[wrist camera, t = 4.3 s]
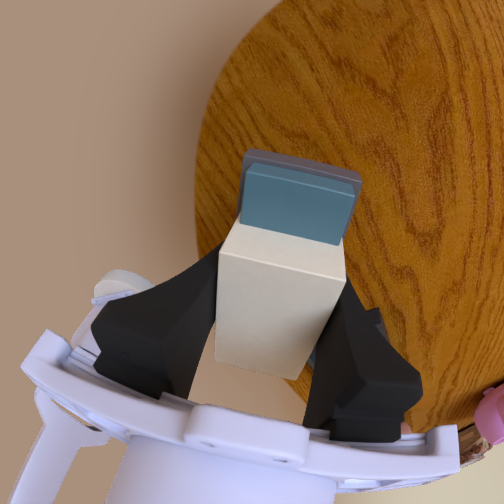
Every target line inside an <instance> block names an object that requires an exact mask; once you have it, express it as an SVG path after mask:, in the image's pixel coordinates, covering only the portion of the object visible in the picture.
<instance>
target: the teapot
mask: <svg viewBox="0 0 504 504" xmlns="http://www.w3.org/2000/svg"><path fill="white" fill-rule="evenodd" d="M483 394H484V395H485V397H484V398H483V399H482V400H481V401H480V403H479V404H478V406H477V408H476V411H475V413H474V421H475V424H476V427H477V429H478V431H479V432H480V434H481V435H482V436H483V437H484V438H485V439H486V440H487V441H488V442H489V443H490V444H492V445H496V444H499V443H502V442H504V383H503V384H502V385H500V386H499V387H497V388H494V387H491V388H489V389H487V390H486V391H484V392H483Z"/></svg>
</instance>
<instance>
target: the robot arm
mask: <svg viewBox="0 0 504 504" xmlns="http://www.w3.org/2000/svg"><path fill="white" fill-rule="evenodd" d="M224 242H225V240H224V241H223V242H221V243H220V244H219V245H218V246H217V247H216V248H214V249H213V250H212V251H211V252H210V253H208V254H207V255H206V256H204V257H203V258H202V259H201V260H199V261H198V262H197V263H195V264H194V265H192V266H191V267H189V268H188V269H186V270H185V271H184V272H182V273H180V274H179V275H177V276H175V277H173V278H171V279H170V280H168V281H166V282H164V283H162V284H159V285H157V286H155V287H152V288H150V289H148V290H145V291H142V292H139V293H136V294H134V293H133V292H132V291H131V290H125V291H121V292H117V293H113V294H108V295H104V296H100V297H96V298H92V299H91V302H92V304H93V305H94V307H93V309H92V310H91V311H90V312H89V314H88V315H87V316H86V318H85V319H84V320H83V322H82V323H81V325H80V326H79V327H78V329H77V330H76V332H75V333H74V335H73V337H72V341H71V345H70V344H69V342H68V341H67V340H66V339H65V338H63V337H62V336H60V335H58V334H57V333H55V332H53V331H51V330H50V329H46V330H45V332H44V333H43V334H42V336H41V337H40V338H39V340H38V341H37V343H36V344H35V345H34V347H33V348H32V350H31V351H30V352H29V354H28V356H27V357H26V358H25V360H24V361H23V363H22V364H21V366H20V367H21V369H22V370H23V371H24V372H25V373H26V375H27V376H28V377H29V378H30V379H31V380H32V381H33V382H34V383H35V384H36V385H37V387H36V389H35V391H34V394H35V395H34V401H35V403H36V406H37V409H38V411H39V413H40V416H41V418H42V420H43V422H44V424H43V426H42V428H41V430H40V432H39V433H38V435H37V437H36V439H35V441H34V443H33V445H32V447H31V449H30V451H29V453H28V455H27V457H26V460H25V462H24V464H23V466H22V468H21V470H20V472H19V475H18V477H17V479H16V481H15V484H14V486H13V489H12V491H11V493H10V496H9V498H8V501H7V503H6V504H53V503H54V500H55V498H56V496H57V494H58V491H59V489H60V487H61V485H62V483H63V480H64V478H65V476H66V474H67V472H68V470H69V468H70V466H71V464H72V462H73V460H74V458H75V456H76V454H77V452H78V450H79V448H80V447H87V446H101V445H106V444H107V442H109V441H110V439H111V437H114V438H116V439H118V440H120V441H122V442H124V443H126V444H128V448H127V450H126V452H125V454H124V457H123V459H122V461H121V464H120V466H119V468H118V471H117V473H116V476H115V478H114V480H113V482H112V485H111V488H110V490H109V492H108V495H107V497H106V500H105V502H104V504H334V497H335V493H355V492H356V493H357V492H371V491H381V490H390V489H398V488H404V487H412V486H418V485H424V484H428V483H431V482H433V481H436V480H439V479H442V478H445V477H447V476H450V475H452V474H455V473H457V472H459V471H460V458H459V442H458V431H457V425H456V424H452V425H441V426H437V427H434V428H432V429H430V430H429V431H427V433H413V434H401V422H403V421H404V413H405V412H406V411H407V410H409V409H410V408H411V407H413V406H414V405H415V404H416V403H417V402H418V401H419V400H420V399H421V398H422V396H423V389H422V381H421V376H420V373H419V372H418V371H417V370H416V369H415V368H414V367H413V366H411V365H410V364H409V363H408V362H407V361H406V360H405V359H404V358H403V357H402V356H401V355H400V354H399V353H398V352H397V351H396V350H395V349H394V348H393V347H392V346H391V345H390V344H389V342H388V341H387V340H386V339H385V338H384V336H383V335H382V334H381V332H380V331H379V330H378V328H377V327H376V326H375V324H374V323H373V321H372V320H371V318H370V317H369V315H368V314H367V312H366V310H365V309H364V307H363V305H362V303H361V302H360V300H359V298H358V296H357V294H356V292H355V290H354V288H353V286H352V284H351V282H350V280H349V278H348V276H347V274H346V283H345V285H344V287H343V290H342V292H341V294H340V296H339V298H338V300H337V303H336V305H335V307H334V309H333V311H332V313H331V315H330V317H329V319H328V321H327V323H326V325H325V327H324V329H323V331H322V333H321V335H320V337H319V339H318V341H317V343H316V355H315V364H314V371H313V377H312V383H311V388H310V393H309V398H308V403H307V407H306V412H305V416H304V420H303V424H302V425H301V424H296V423H293V422H289V421H284V420H278V419H273V418H268V417H263V416H259V415H254V414H250V413H245V412H241V411H237V410H233V409H229V408H225V407H222V406H217V405H212V404H198V403H195V402H192V401H189V400H187V399H188V396H189V392H190V389H191V385H192V382H193V379H194V376H195V373H196V370H197V366H198V363H199V360H200V357H201V354H202V352H203V348H204V346H205V343H206V340H207V337H208V335H209V332H210V330H211V328H212V326H213V324H214V322H215V317H216V295H217V276H218V259H219V251H220V249H221V247H222V245H223V243H224ZM345 272H346V271H345ZM50 397H51V398H52V399H53V400H55V401H56V402H58V403H59V404H61V405H62V406H64V407H65V408H67V409H68V410H70V411H71V412H73V413H74V414H76V415H77V416H79V417H80V418H82V419H84V420H85V421H87V422H88V423H90V424H91V425H93V426H86V425H84V424H82V423H81V422H79V421H78V420H76V419H75V418H74V417H72V416H71V415H69V414H68V413H66V412H65V411H64V410H62V409H61V408H60V407H58V406H57V405H56V404H55V403H53V401H52V400H51V398H50Z"/></svg>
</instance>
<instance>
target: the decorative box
mask: <svg viewBox="0 0 504 504" xmlns="http://www.w3.org/2000/svg"><path fill="white" fill-rule="evenodd" d="M458 442H459V458H460V468H463V467H465V466H468V465H470V464H473V463H475V462H477V461H479V460H481V459H483V458H484V457H485V456H483V454H484V453H485V452H487V451H488V450H490V449H491V448H492V446H493V445H492V444H490V443H488V441H487V440H486V439H485V438H484V437H483V436H482V435H481V434H480V432H479V431H478V429H477V427H476V424H475V425H473V426H471V427H469V428H467V429H465V430H463V431H461V432H459V433H458Z"/></svg>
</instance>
